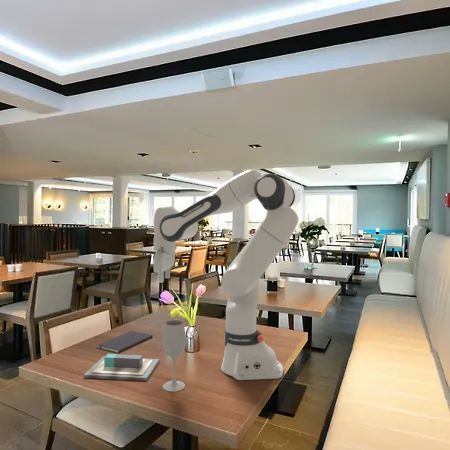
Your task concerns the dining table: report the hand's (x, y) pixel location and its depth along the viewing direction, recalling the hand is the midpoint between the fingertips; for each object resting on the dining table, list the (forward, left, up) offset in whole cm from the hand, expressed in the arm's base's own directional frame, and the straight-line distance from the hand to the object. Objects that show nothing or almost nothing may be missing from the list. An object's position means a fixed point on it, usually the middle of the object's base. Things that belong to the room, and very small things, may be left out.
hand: (164, 280), depth 150 cm
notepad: (+10, +19, -29) cm, 36 cm away
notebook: (+19, -8, -30) cm, 36 cm away
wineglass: (-11, +30, -29) cm, 43 cm away
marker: (+10, +19, -28) cm, 35 cm away
